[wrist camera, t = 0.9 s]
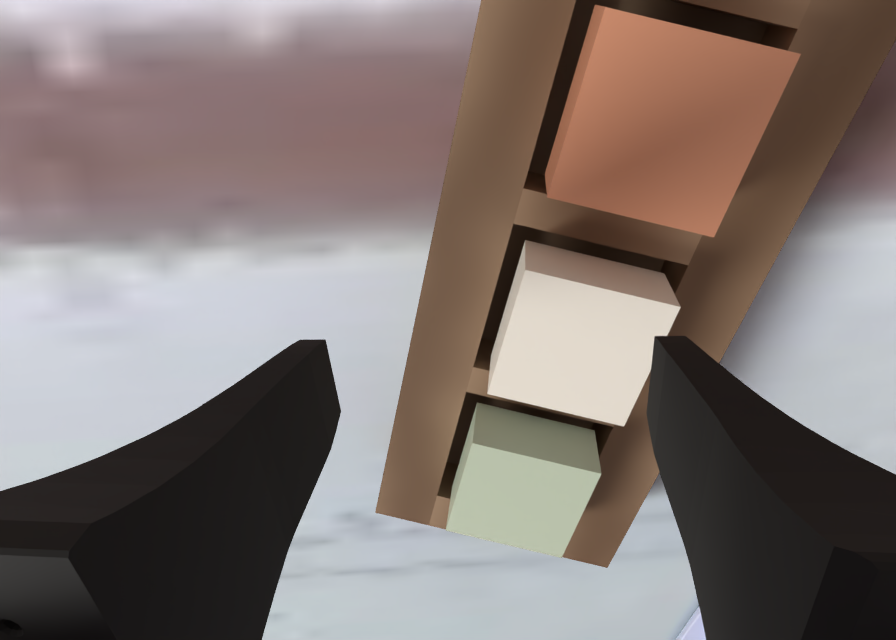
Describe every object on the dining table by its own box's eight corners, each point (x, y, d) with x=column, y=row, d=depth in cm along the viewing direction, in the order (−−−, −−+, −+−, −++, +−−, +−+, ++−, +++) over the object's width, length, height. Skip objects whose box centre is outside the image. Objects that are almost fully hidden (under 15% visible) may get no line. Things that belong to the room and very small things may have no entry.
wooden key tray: (859, -30, 16) (935, -34, 13) (598, 503, 27) (607, 567, 24) (512, -114, 16) (509, -137, 13) (391, 454, 27) (375, 512, 24)
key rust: (765, 45, 15) (800, 54, 13) (692, 209, 17) (714, 237, 15) (595, 4, 15) (605, 6, 13) (544, 173, 17) (547, 197, 15)
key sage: (594, 430, 21) (601, 473, 19) (558, 511, 23) (561, 557, 21) (477, 402, 21) (472, 443, 19) (452, 486, 23) (445, 530, 21)
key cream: (664, 273, 18) (680, 306, 16) (614, 385, 20) (623, 426, 18) (525, 239, 18) (524, 270, 16) (491, 355, 20) (487, 394, 18)
